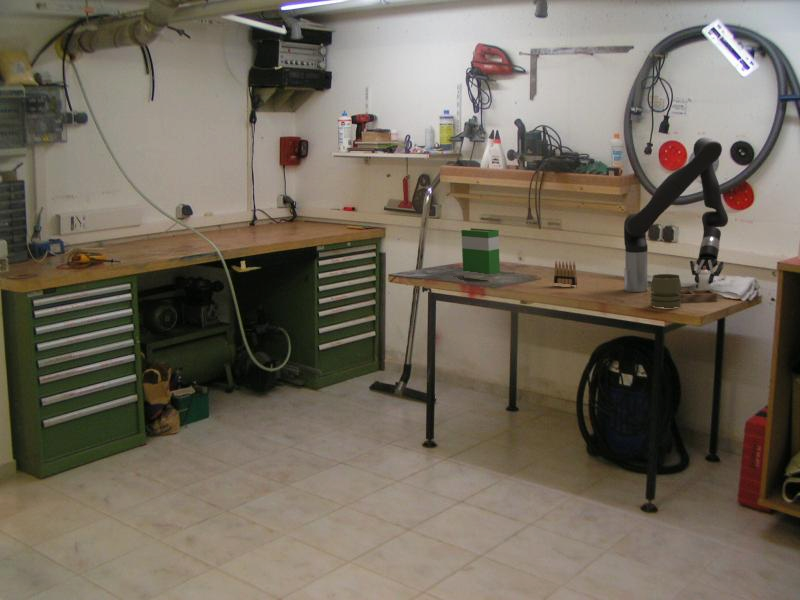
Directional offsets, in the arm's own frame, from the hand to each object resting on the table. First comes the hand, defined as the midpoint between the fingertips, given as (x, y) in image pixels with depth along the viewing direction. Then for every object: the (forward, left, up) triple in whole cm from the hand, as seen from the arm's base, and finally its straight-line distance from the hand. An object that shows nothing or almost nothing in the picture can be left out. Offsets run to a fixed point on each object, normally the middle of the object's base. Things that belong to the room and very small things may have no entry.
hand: (703, 282), depth 358 cm
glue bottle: (+1, +2, -5) cm, 6 cm away
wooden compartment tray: (-7, -9, -5) cm, 13 cm away
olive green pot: (-20, -20, -5) cm, 28 cm away
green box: (-91, +58, -5) cm, 108 cm away
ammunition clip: (-54, +28, -5) cm, 61 cm away
